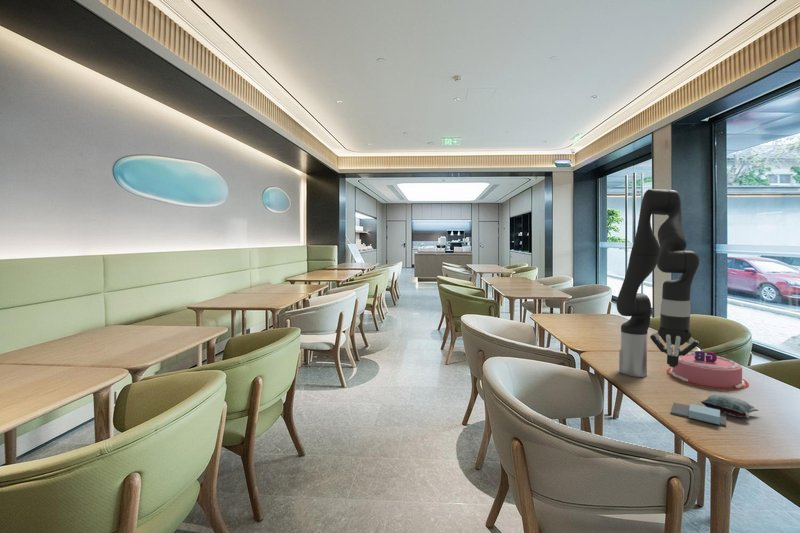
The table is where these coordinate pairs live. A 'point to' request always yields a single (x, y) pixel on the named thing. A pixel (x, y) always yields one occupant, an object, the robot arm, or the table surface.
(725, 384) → the cake
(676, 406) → the mat
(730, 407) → the packaged food
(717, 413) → the block
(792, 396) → the table surface
